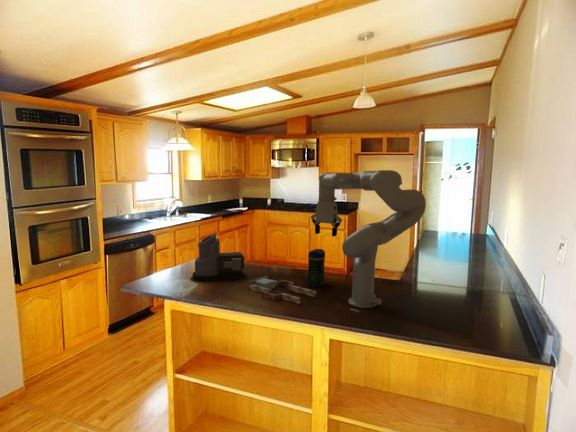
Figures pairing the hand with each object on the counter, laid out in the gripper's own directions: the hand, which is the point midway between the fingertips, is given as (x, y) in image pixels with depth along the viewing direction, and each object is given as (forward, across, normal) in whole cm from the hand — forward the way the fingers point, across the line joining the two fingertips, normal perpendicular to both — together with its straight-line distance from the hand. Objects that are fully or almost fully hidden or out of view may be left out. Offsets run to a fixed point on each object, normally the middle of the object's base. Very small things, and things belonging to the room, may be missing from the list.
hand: (325, 234), depth 184 cm
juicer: (+29, +58, +18) cm, 67 cm away
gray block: (+29, +26, +15) cm, 41 cm away
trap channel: (+28, +14, +15) cm, 35 cm away
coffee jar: (+28, +10, -7) cm, 31 cm away
